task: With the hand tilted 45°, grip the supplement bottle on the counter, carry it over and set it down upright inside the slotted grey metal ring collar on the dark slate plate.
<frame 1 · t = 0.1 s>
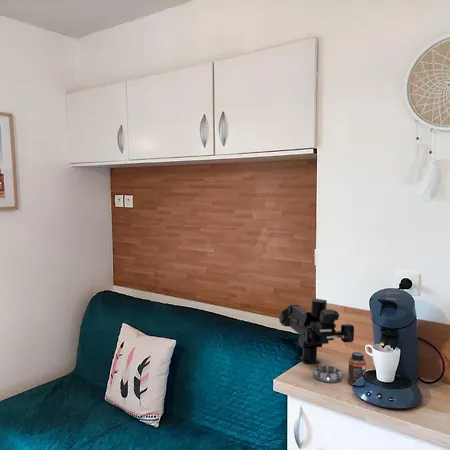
hand: (340, 341, 160), 17 cm above the worktop, tool horizontal, fingers open, 9 cm apart
ring collar: (327, 377, 169), on the worktop
supplement bottle: (356, 384, 164), on the worktop
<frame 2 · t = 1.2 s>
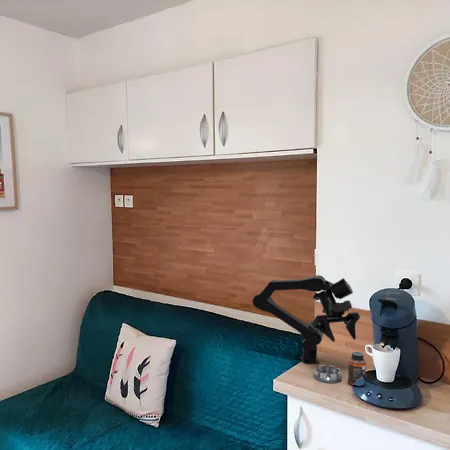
hand: (344, 340, 170), 14 cm above the worktop, tool tilted 45°, fingers open, 9 cm apart
nothing on the worktop moved.
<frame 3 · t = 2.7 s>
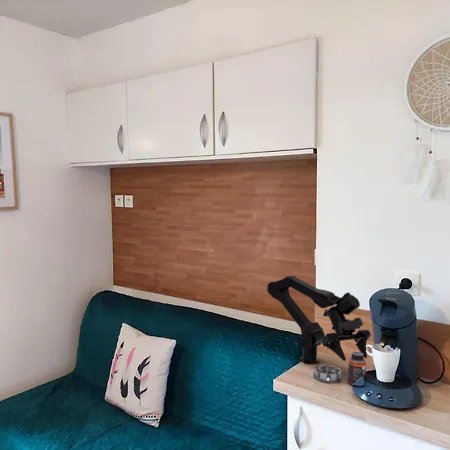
hand: (355, 359, 164), 9 cm above the worktop, tool tilted 45°, fingers open, 9 cm apart
nothing on the worktop moved.
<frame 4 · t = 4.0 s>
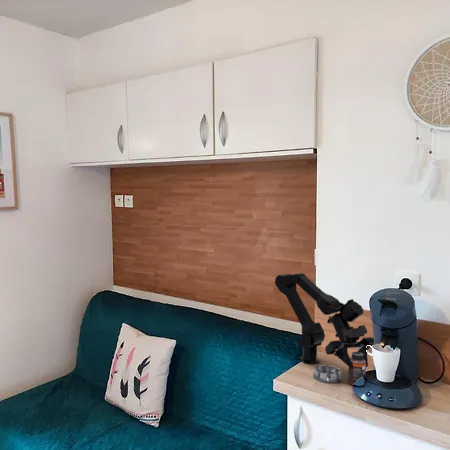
hand: (359, 367, 162), 7 cm above the worktop, tool tilted 45°, fingers closed on supplement bottle, 6 cm apart
supplement bottle: (356, 384, 164), on the worktop, touching gripper
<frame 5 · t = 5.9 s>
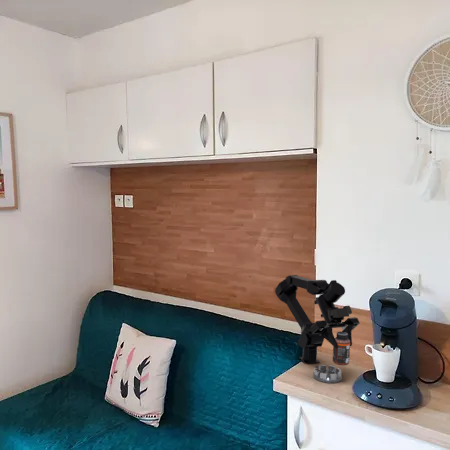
hand: (343, 346, 165), 13 cm above the worktop, tool tilted 45°, fingers closed on supplement bottle, 6 cm apart
supplement bottle: (340, 363, 167), point 6 cm above the worktop, touching gripper
when the fingers open (9 cm above the worktop, at t = 8.1 s): supplement bottle stays where it is, resting on ring collar.
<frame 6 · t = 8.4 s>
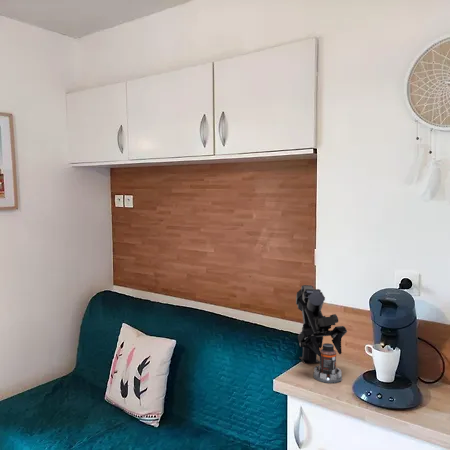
hand: (330, 355, 167), 9 cm above the worktop, tool tilted 45°, fingers open, 8 cm apart
supplement bottle: (327, 375, 169), point 1 cm above the worktop, touching ring collar
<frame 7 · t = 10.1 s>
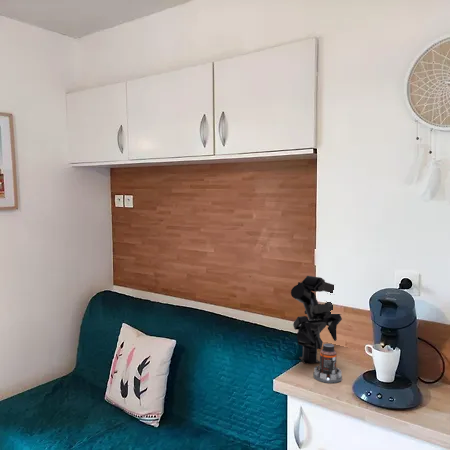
hand: (325, 341, 170), 13 cm above the worktop, tool tilted 45°, fingers open, 9 cm apart
nothing on the worktop moved.
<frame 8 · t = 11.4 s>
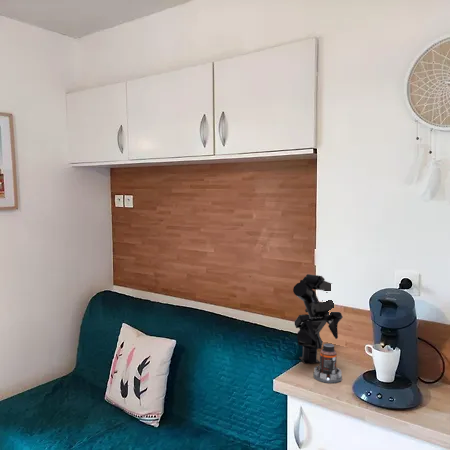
hand: (326, 339, 170), 14 cm above the worktop, tool tilted 45°, fingers open, 9 cm apart
nothing on the worktop moved.
at the end: supplement bottle 0.2 cm off-centre on the ring collar, point 0.8 cm above the ring collar's base; supplement bottle tilted 0°; the gripper is holding nothing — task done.
